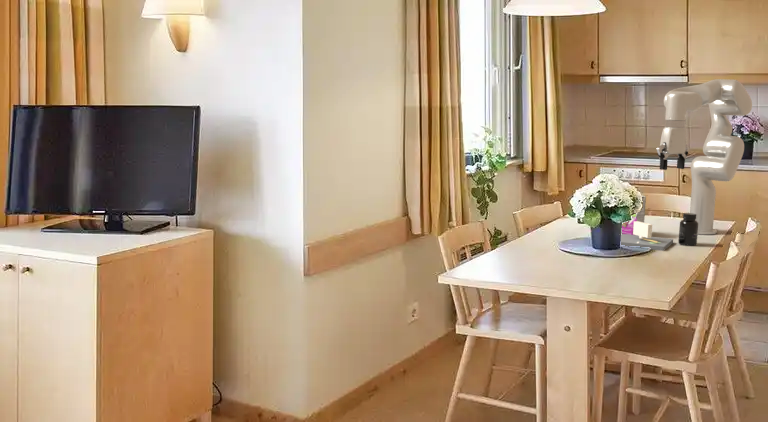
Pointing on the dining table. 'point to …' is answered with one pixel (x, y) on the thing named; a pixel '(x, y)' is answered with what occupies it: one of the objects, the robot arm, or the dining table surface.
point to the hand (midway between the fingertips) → (671, 169)
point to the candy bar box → (628, 226)
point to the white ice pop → (643, 230)
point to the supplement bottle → (688, 230)
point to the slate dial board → (646, 242)
